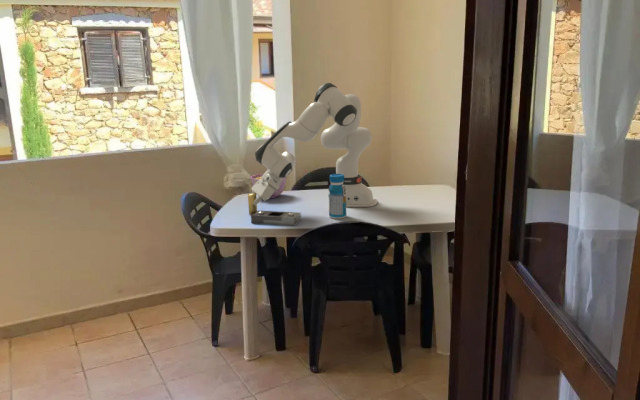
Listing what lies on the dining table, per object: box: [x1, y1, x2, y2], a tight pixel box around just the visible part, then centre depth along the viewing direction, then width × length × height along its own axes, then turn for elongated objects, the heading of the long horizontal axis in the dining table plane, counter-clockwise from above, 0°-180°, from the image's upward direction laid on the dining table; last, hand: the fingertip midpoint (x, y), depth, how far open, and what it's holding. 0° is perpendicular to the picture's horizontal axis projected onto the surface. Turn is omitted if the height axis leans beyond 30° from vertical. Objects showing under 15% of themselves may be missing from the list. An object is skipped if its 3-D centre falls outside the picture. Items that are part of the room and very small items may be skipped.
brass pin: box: [247, 192, 258, 216], centre depth 253 cm, size 4×4×10 cm
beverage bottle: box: [327, 173, 347, 220], centre depth 243 cm, size 8×8×20 cm
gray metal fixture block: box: [250, 210, 302, 226], centre depth 240 cm, size 21×9×4 cm, turn 73°
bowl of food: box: [250, 172, 288, 199], centre depth 288 cm, size 20×20×12 cm
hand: (251, 202), depth 253 cm, fingers open, 8 cm apart
